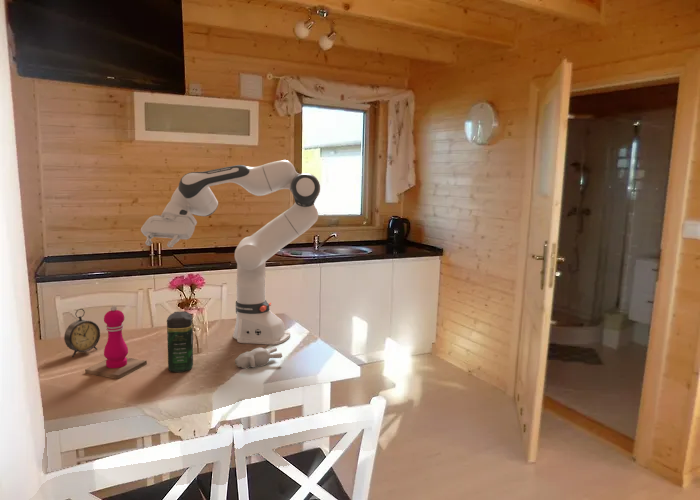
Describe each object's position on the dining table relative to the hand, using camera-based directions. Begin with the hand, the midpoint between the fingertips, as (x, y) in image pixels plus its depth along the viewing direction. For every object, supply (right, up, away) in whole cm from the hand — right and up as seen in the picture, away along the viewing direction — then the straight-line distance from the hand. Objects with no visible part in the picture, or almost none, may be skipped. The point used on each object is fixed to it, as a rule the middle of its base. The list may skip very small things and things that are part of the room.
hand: (158, 245), depth 184 cm
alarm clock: (-25, -38, -4) cm, 46 cm away
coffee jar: (+13, -41, -15) cm, 46 cm away
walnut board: (-7, -41, -17) cm, 45 cm away
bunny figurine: (+38, -41, -11) cm, 57 cm away
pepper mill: (-7, -40, -17) cm, 44 cm away
